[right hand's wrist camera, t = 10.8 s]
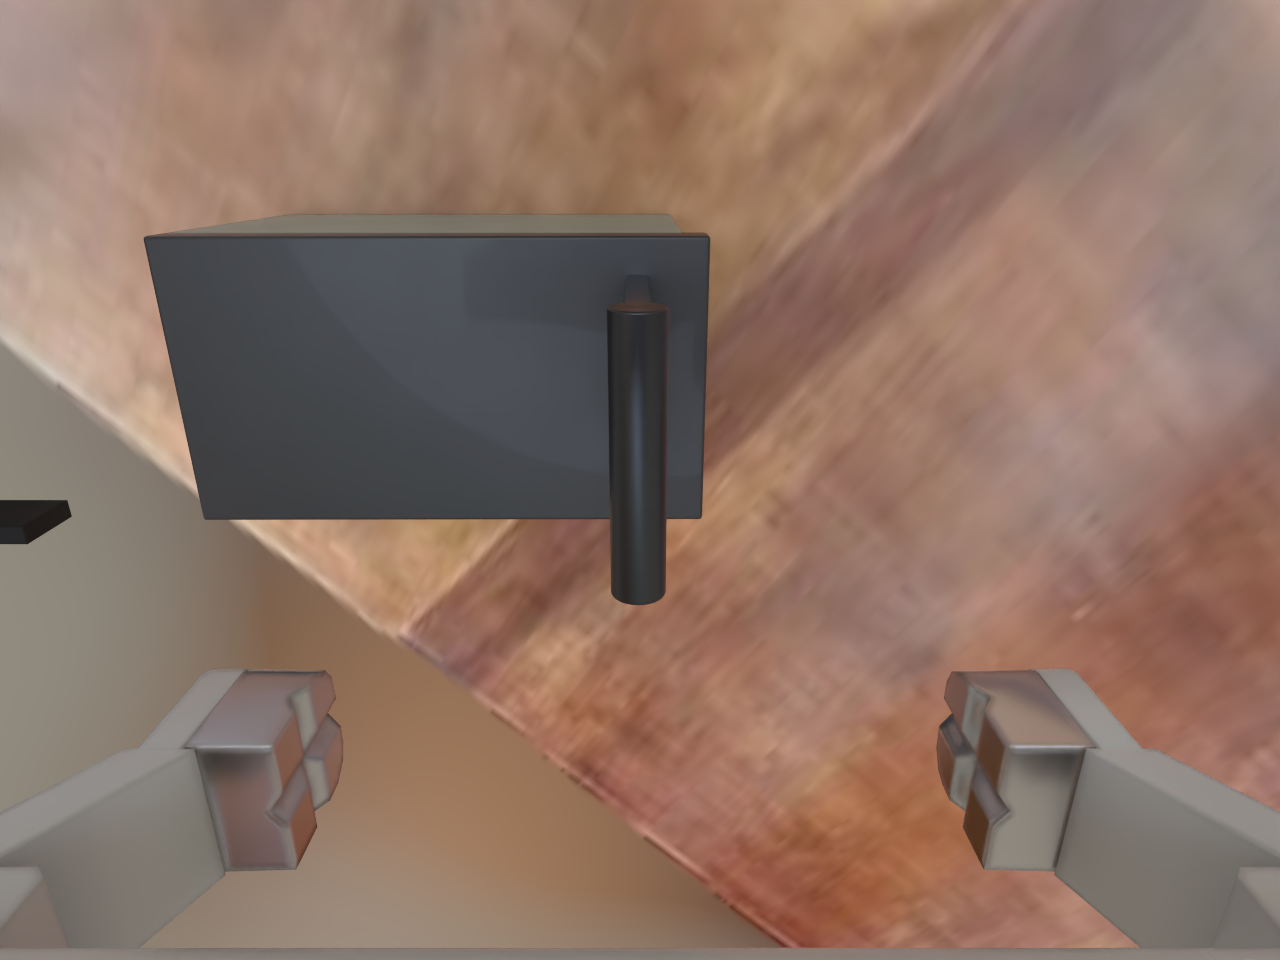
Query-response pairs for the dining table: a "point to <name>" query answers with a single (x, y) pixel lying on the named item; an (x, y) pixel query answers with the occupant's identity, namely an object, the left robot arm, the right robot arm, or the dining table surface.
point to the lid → (445, 378)
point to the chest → (453, 224)
